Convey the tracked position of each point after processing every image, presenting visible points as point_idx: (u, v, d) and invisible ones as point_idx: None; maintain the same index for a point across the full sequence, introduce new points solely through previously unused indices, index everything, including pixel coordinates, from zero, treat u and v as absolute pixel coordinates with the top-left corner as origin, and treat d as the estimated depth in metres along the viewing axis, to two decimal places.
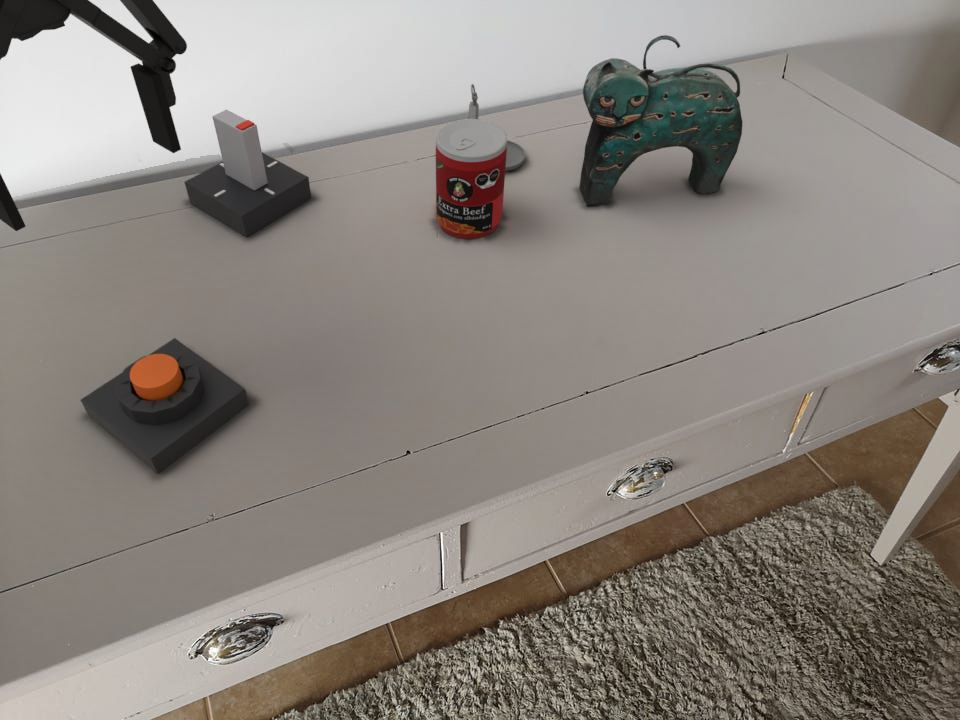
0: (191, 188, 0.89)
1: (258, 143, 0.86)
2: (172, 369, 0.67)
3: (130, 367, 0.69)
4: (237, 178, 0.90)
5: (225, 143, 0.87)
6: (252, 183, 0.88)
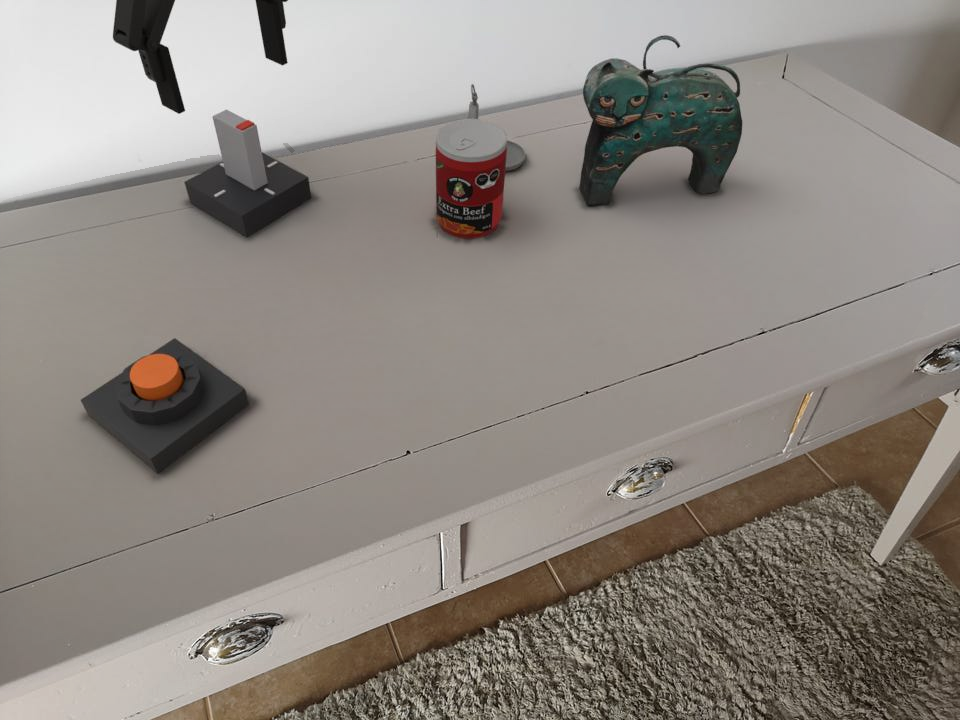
0: (191, 188, 0.89)
1: (258, 143, 0.86)
2: (172, 369, 0.67)
3: (130, 367, 0.69)
4: (237, 178, 0.90)
5: (225, 143, 0.87)
6: (252, 183, 0.88)
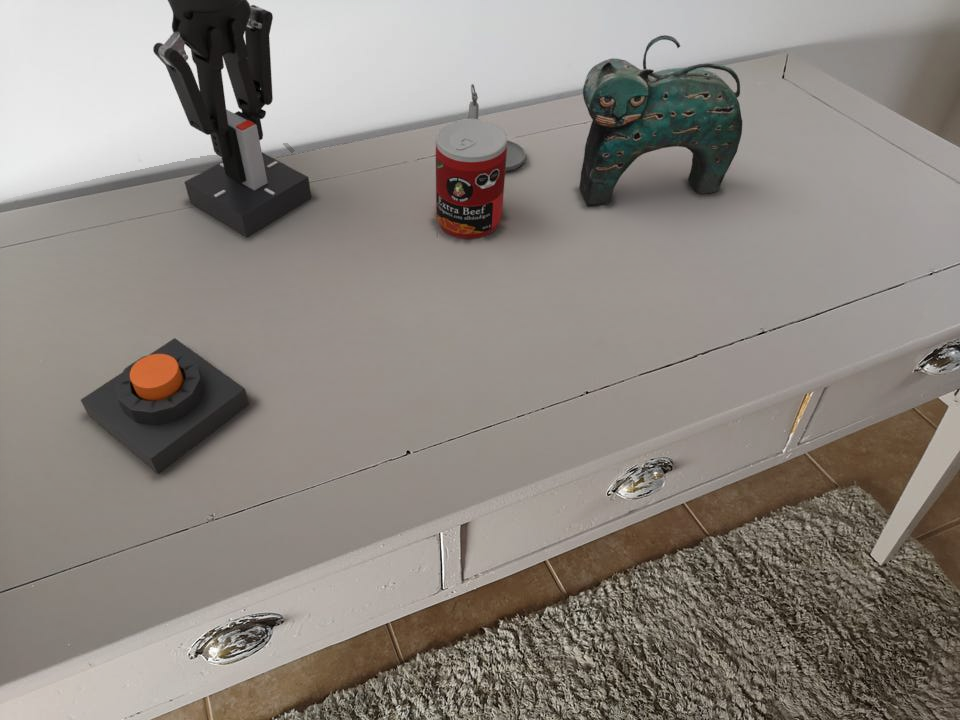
0: (191, 188, 0.89)
1: (258, 143, 0.86)
2: (172, 369, 0.67)
3: (130, 367, 0.69)
4: None
5: None
6: (252, 183, 0.88)
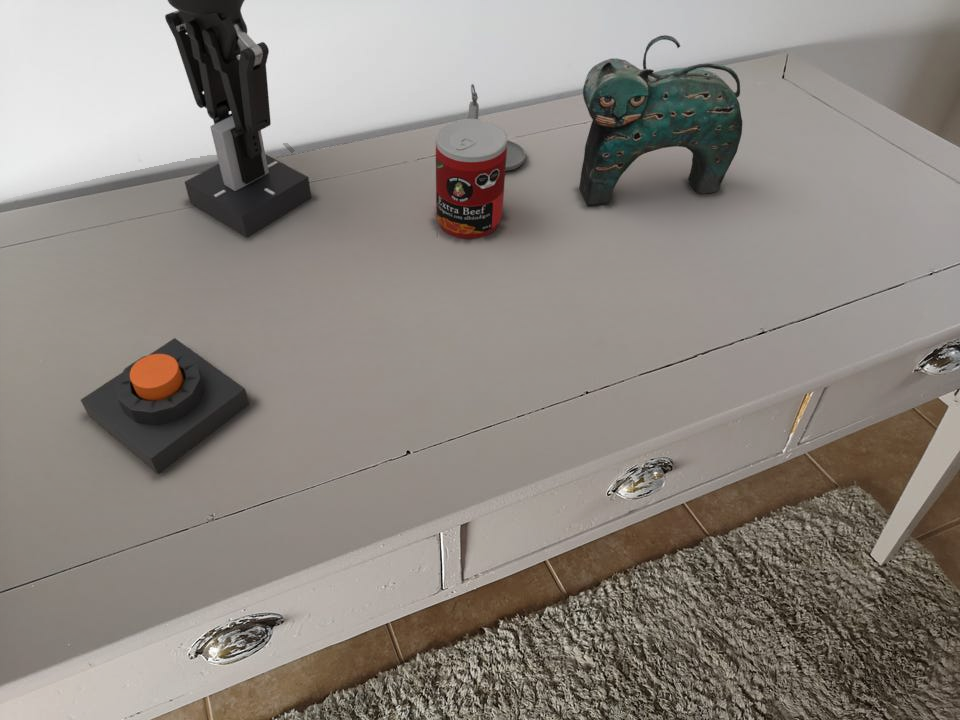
0: (191, 188, 0.89)
1: None
2: (172, 369, 0.67)
3: (130, 367, 0.69)
4: None
5: None
6: (267, 166, 0.91)
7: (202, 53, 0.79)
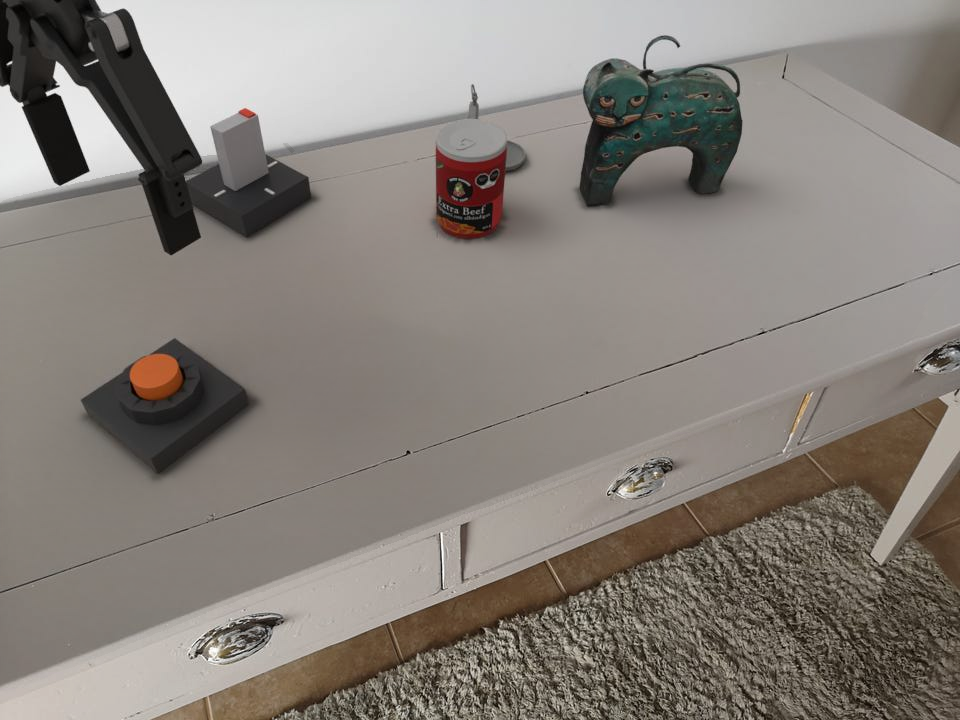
0: (191, 188, 0.89)
1: None
2: (172, 369, 0.67)
3: (130, 367, 0.69)
4: (249, 180, 0.89)
5: (237, 150, 0.86)
6: (267, 166, 0.91)
7: (25, 46, 0.50)
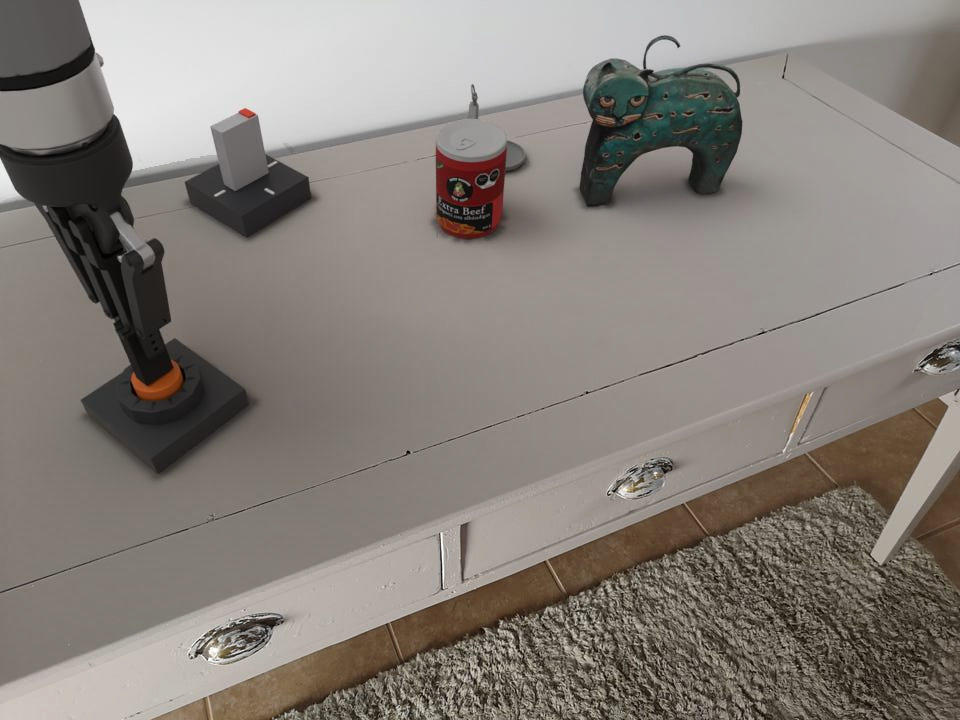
0: (191, 188, 0.89)
1: None
2: (174, 373, 0.67)
3: (130, 367, 0.69)
4: (249, 180, 0.89)
5: (237, 150, 0.86)
6: (267, 166, 0.91)
7: (78, 243, 0.56)
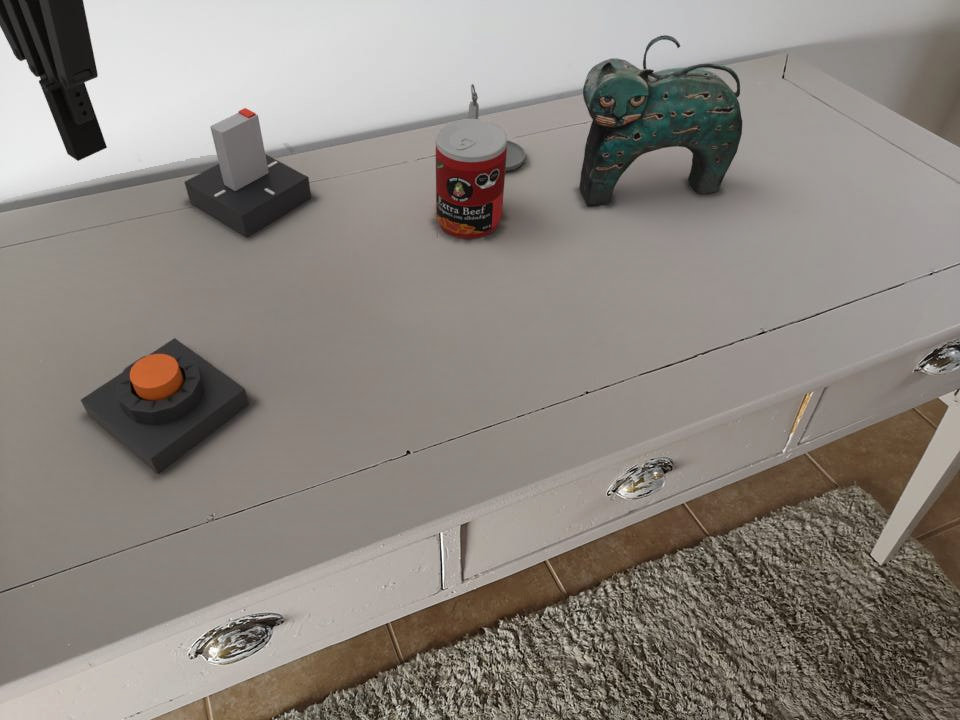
0: (191, 188, 0.89)
1: None
2: (172, 369, 0.67)
3: (130, 367, 0.69)
4: (249, 180, 0.89)
5: (237, 150, 0.86)
6: (267, 166, 0.91)
7: None
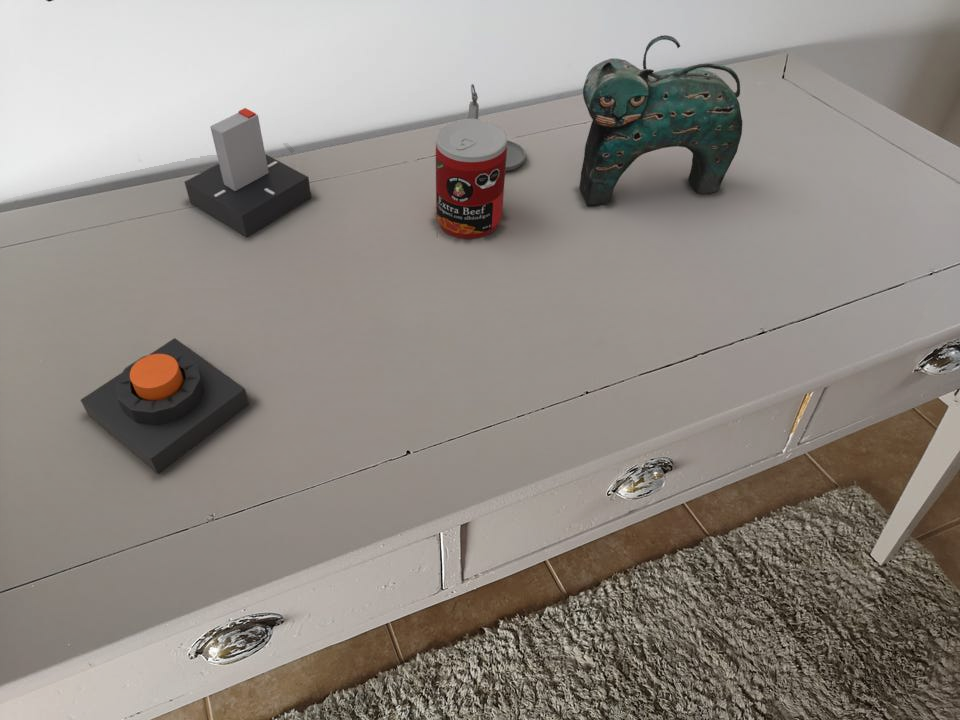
0: (191, 188, 0.89)
1: None
2: (172, 369, 0.67)
3: (130, 367, 0.69)
4: (249, 180, 0.89)
5: (237, 150, 0.86)
6: (267, 166, 0.91)
7: None
